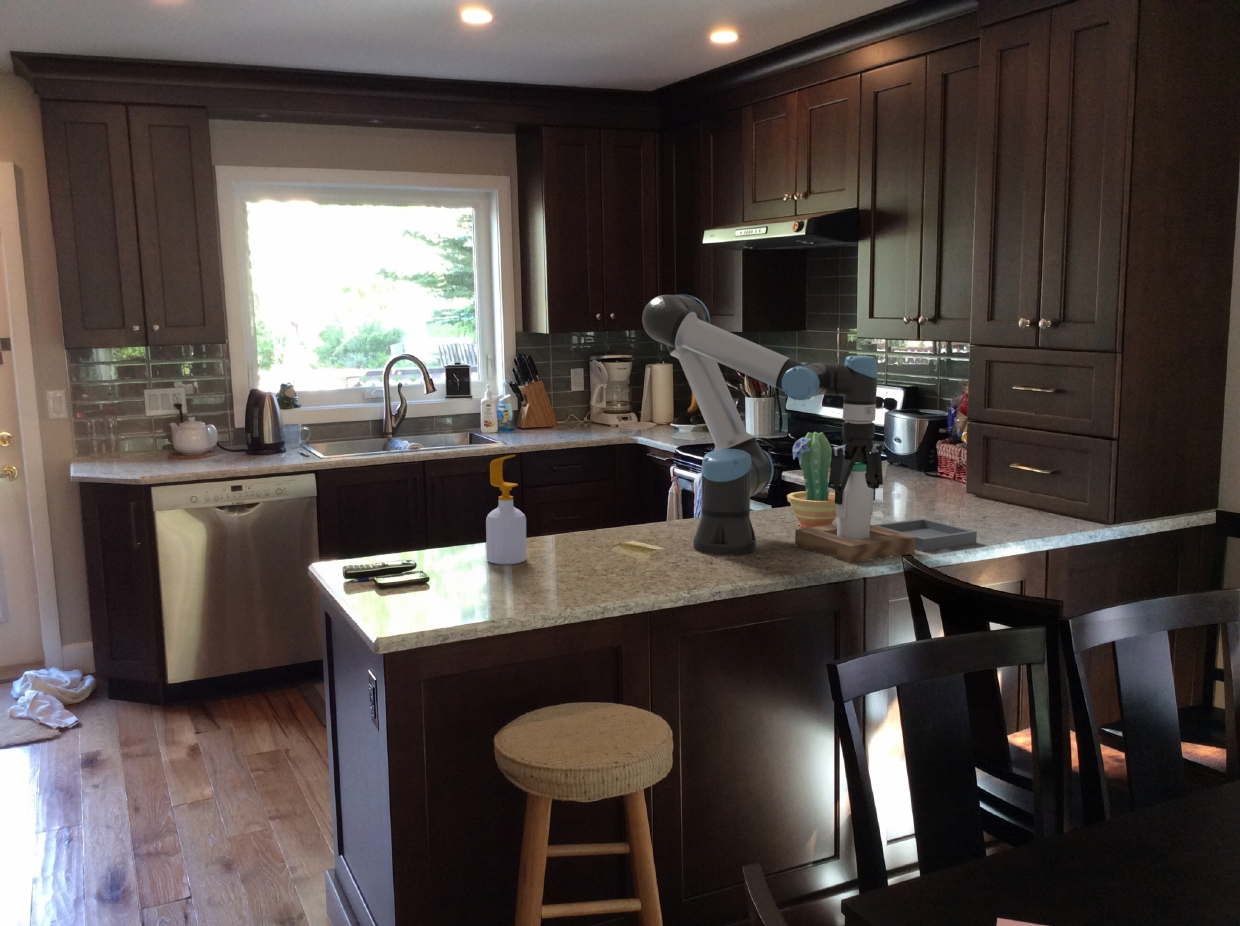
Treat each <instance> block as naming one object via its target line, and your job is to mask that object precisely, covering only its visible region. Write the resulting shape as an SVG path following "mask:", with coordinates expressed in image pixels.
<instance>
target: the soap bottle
mask: <svg viewBox="0 0 1240 926" xmlns="http://www.w3.org/2000/svg"><path fill="white" fill-rule="evenodd" d="M514 457H516V454H511V455H505V456H501V457H498V458H494V459H492V460H491V461H490V463H489V478H490V479H489V481H490V485H491V486H493V487H495V488H499V491H501V495H500V496H498V505H497V507H496V508H494V509H492V510H491V511H490V512H489V513H488V514H487V516H486V518H485V519H486V520H485V529H486V530H485V532H486V536H485V538H486V539H485V541H486V548H485V549H486V560H487V561H488V563H491V564H494V565H504V566H507V565H509V566H510V565H518V564H522V563H523V562H526V560H527V517H526V515H525V513H523V512H522V511H521V510H520V509H519V508H516V507H515V506H514V496H513V495H510V491H512V490H513V489H512V488H515V487H518V486H519V485H518V483H515V482H507V481H505V480H504V477H503V464H504V461H505V460H507V459H510V458H514Z"/></svg>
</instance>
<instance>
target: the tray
mask: <svg viewBox="0 0 1240 926" xmlns="http://www.w3.org/2000/svg"><path fill="white" fill-rule="evenodd" d="M872 525H873V526H877V527H881V528H884V529H888V530H892V531H895V532H899V533H903V534H906V535H910V536H914V537H916V538H915V551H920V552H928V551H934V550H935V551H936V550H941V549H948V548H949V549H950V548H953V547H954V548H955V547H962V546H968V545H975V544H977V538H978V537H977V535H978V531H976V530H972V529H968V528H964V527H960V526H957V525H956V526H955V525H953V524H952V525H951V524H948V523H944V522H940V521H937V520H931V519H927V518H917V519H915V518H914V519H910V520H901V521H893V522H886V523H878V524H872Z"/></svg>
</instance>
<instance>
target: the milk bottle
mask: <svg viewBox="0 0 1240 926" xmlns="http://www.w3.org/2000/svg"><path fill="white" fill-rule="evenodd" d="M866 468H867V466H866V464H865V463H860V462H859V461H856V463H855V465H853V467H852V470H851V473H850V475H849V478H848V481H847V484H846V486H845V489H844V491H847V503H846V519H842V518H839V517H837V523H836V524H837V536H840V537H843V538H847V539H850V540H857V539H864V538H870V525H871V516H872V515H871V494H870V491H869V488H868V486H867V483H866V479H865V473H866Z"/></svg>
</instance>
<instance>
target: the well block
mask: <svg viewBox="0 0 1240 926" xmlns="http://www.w3.org/2000/svg"><path fill="white" fill-rule="evenodd" d="M873 525H874V524H870V538H864V539H857V540H850V539H847V538H843V537H840V536H837V523H835V524H832V525H826V526H818V527H811V528H797V529H794V530H795V532H794V533H795V535H794V537H795V538H794V546H795V545H798V546H799V548H801V547H803V548H802V549H805V548H807V549H806V550H808V549H809V550H808V551H811V550H812V552H814V551H816V552H815V553H817V552H818V554H820V553H822V554H821V555H823V554H824V555H823V556H826V555H827V557H829V556H831V557H830V558H832V557H833V559H835V558H836V560H838V559H840V560H839V561H841V562H842V561H843V562H844V561H845V562H844V563H848V562H849V563H848V564H853V563H852V562H855V563H859V562H858V561H862V562H866V561H865V560H868V561H870V560H869V559H875V560H879V559H878V558H881V559H886V557H888V558H891V557H890V556H895V557H900V556H907V555H913V554H915V553H916V550H915V538H916V537H914V536H910V535H906V534H903V533H899V532H895V531H892V530H888V529H884V528H881V527H877V526H873ZM798 546H797V547H798ZM899 555H900V556H899Z"/></svg>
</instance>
